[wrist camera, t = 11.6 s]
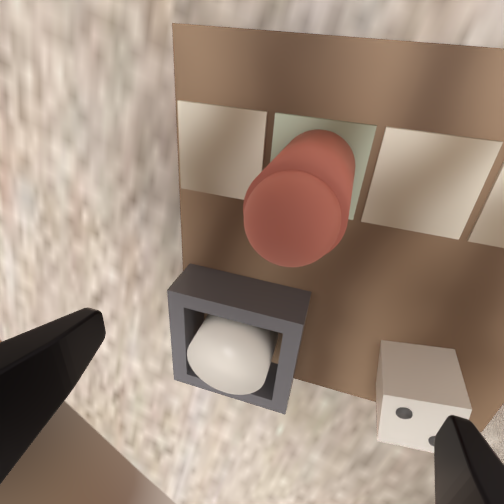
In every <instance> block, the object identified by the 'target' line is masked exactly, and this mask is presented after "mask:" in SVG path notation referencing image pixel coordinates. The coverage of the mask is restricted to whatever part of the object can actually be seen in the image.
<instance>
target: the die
mask: <svg viewBox="0 0 504 504" xmlns="http://www.w3.org/2000/svg"><path fill="white" fill-rule="evenodd" d="M471 412H472V407H471V404H470V400H469V397H468V393H467V390H466V386H465V383H464V379H463V376H462V373H461V369H460V366H459V362H458V359H457V355H456V352H455V349H449V348H441V347H433V346H425V345H417V344H409V343H401V342H393V341H385V340H381V344H380V353H379V361H378V370H377V378H376V417H377V441H379V442H384V443H388V444H393V445H398V446H403V447H408V448H412V449H417V450H422V451H427V452H432V453H434V441H435V436H436V434H437V432H438V431H439V429H440V428H441V426H442V425H443V423H444V421H445V420H446V418H447V417H448V416H450V415H455V416H459V417H462V418H465V419H468V420H469V418H470V415H471Z"/></svg>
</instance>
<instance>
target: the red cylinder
mask: <svg viewBox="0 0 504 504" xmlns="http://www.w3.org/2000/svg"><path fill="white" fill-rule="evenodd" d="M354 175H355V158H354V154H353V152H352V150H351V148H350V146H349V145H348V143H347V142H346V141H345V140H344V139H343V138H342V137H340V136H339V135H337V134H336V133H333V132H331V131H327V130H321V129H316V130H309V131H306V132H303V133H301V134H299V135H298V136H296V137H295V138H294V139H293V140H292V141H291V142H290V143H289V144H288V145H287V146H286V147H285V148H284V149H283V150H282V151H281V152H280V153H279V154H278V155H277V156H276V157H275V158H274V159H273V160H272V161H271V162H270V163H269V164H268V165H267V167H266V168H265V169H264V170H263V171H262V172H261V173H260V174H259V175H258V176H257V177H256V178H255V179H254V180H253V181H252V183H251V184H250V186H249V188H248V190H247V192H246V195H245V198H244V203H243V215H244V228H245V233H246V235H247V238H248V240H249V242H250V244H251V246H252V247H253V248H254V250H255V251H256V252H257V253H258V254H259V255H260V256H261V257H263V258H264V259H266V260H267V261H269V262H271V263H273V264H276V265H279V266H283V267H301V266H305V265H308V264H311V263H313V262H315V261H317V260H319V259H320V258H321V257H323V256H324V255H326V254H327V253H329V252H330V251H331V250H333V249H334V248H335V247H336V246H337V245H338V243H339V242H340V241H341V239H342V237H343V236H344V234H345V231H346V228H347V224H348V218H349V211H350V204H351V196H352V189H353V182H354Z"/></svg>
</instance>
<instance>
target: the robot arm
mask: <svg viewBox="0 0 504 504" xmlns="http://www.w3.org/2000/svg"><path fill="white" fill-rule="evenodd" d="M105 334H106V331H105V326H104V321H103V316H102V313H101V312H100V311H99V310H95V309H92V308H84V309H81V310H79V311H76V312H74V313H71V314H69V315H66V316H64V317H61V318H59V319H57V320H54V321H52V322H49V323H47V324H44V325H42V326H39V327H37V328H35V329H32V330H30V331H27V332H25V333H22V334H20V335H17V336H15V337H13V338H10V339H8V340H5V341H3V342H0V484H1V483H2V481H3V480H4V479H5V477H6V476H7V475H8V473H9V472H10V471H11V469H12V468H13V467H14V466H15V464H16V463H17V462H18V460H19V459H20V458H21V456H22V455H23V454H24V452H25V451H26V450H27V449H28V447H29V446H30V445H31V443H32V442H33V441H34V439H35V438H36V437H37V435H38V434H39V432H41V430H42V429H43V428H44V426H45V425H46V424H47V422H48V421H49V420H50V418H51V417H52V416H53V414H54V413H55V412H56V411H57V409H58V408H59V407H60V405H61V404H62V403H63V402H64V400H65V399H66V398H67V396H68V395H69V394H70V392H71V391H72V389H73V388H74V387H75V385H76V384H77V382H78V381H79V379H80V377H81V376H82V374H83V373H84V371H85V369H86V368H87V366H88V365H89V363H90V361H91V360H92V358H93V357H94V355H95V353H96V352H97V350H98V349H99V347H100V345H101V344H102V342H103V340H104V338H105ZM434 462H435V504H504V464H503V463H502V462H501V460H500V459H499V458H498V456H497V455H496V454H495V452H494V451H493V449H492V448H491V447H490V445H489V444H488V443H487V441H486V440H485V439H484V437H483V436H482V435H481V433H480V432H479V430H478V429H477V428H476V426H475V425H474V424H473V423H472V422H471V421H470V420H468V419H465V418H462V417H459V416H455V415H450V416H448V417H447V418H446V420H445V421H444V423H443V425H442V426H441V428H440V429H439V431H438V432H437V434H436V436H435V441H434Z"/></svg>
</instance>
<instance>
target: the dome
mask: <svg viewBox="0 0 504 504" xmlns="http://www.w3.org/2000/svg"><path fill="white" fill-rule="evenodd" d="M278 337H279V332H275V331H271V330H267V329H263V328H260V327H256V326H252V325H248V324H244V323H241V322H237V321H233V320H229V319H225V318H222V317H218V316H214V315H210V314H208V315H207V317H206V318H205V320H204V322H203V323H202V325H201V327H200V328H199V330H198V331H197V333H196V335H195V336H194V338H193V340H192V341H191V343H190V345H189V347H188V350H187V358H188V362H189V364H190V366H191V368H192V370H193V371H194V372H195V374H196V375H197V376H198V377H199V378H200V379H201V380H202V381H204V382H205V383H206V384H208V385H209V386H211V387H213V388H215V389H217V390H219V391H222V392H225V393H229V394H235V395H245V394H250V393H253V392H256V391H257V390H259V389H260V388H261V387H262V386H263V384H264V382H265V379H266V376H267V373H268V370H269V367H270V363H271V360H272V357H273V354H274V351H275V347H276V344H277V341H278Z"/></svg>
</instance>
